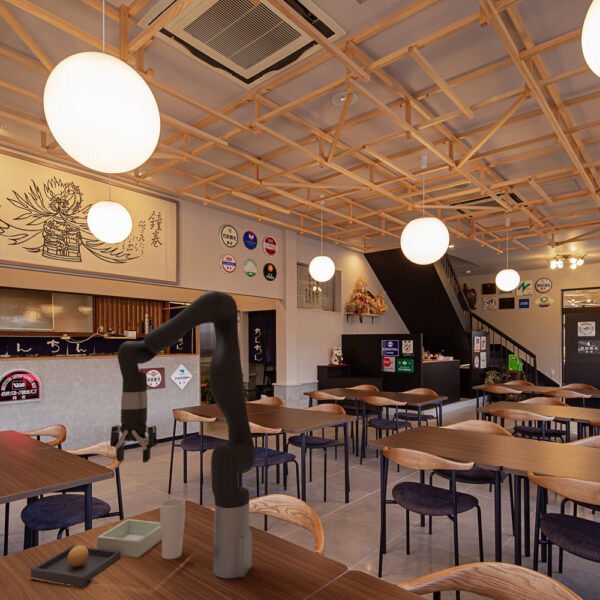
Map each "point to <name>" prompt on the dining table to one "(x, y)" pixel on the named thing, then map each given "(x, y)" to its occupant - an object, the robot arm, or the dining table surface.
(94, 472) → the dining table surface
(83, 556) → the ball
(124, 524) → the open box
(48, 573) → the tray
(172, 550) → the drinking glass
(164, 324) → the robot arm
